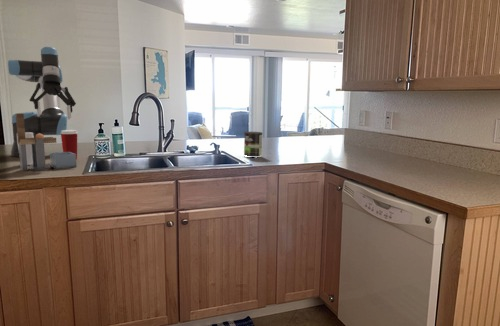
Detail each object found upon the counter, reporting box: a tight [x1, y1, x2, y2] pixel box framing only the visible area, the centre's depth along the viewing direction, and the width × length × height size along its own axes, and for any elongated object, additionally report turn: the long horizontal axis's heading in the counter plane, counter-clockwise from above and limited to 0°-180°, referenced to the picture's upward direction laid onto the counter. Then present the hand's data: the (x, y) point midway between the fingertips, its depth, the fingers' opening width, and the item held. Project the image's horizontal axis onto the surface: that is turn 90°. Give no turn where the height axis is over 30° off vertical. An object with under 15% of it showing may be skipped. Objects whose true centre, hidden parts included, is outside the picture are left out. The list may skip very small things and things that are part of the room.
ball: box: [36, 133, 45, 139], centre depth 165 cm, size 3×3×3 cm
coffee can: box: [243, 131, 263, 156], centre depth 214 cm, size 10×10×14 cm
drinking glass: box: [17, 132, 34, 166], centre depth 175 cm, size 7×7×15 cm
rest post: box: [19, 144, 29, 172], centre depth 162 cm, size 4×2×11 cm, turn 43°
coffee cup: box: [60, 129, 79, 161], centre depth 191 cm, size 8×8×15 cm
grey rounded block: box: [49, 151, 78, 170], centre depth 173 cm, size 9×9×6 cm
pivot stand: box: [28, 139, 51, 172], centre depth 166 cm, size 9×6×14 cm, turn 43°
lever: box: [15, 112, 57, 145], centre depth 164 cm, size 6×14×13 cm, turn 133°
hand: (54, 117), depth 181 cm, fingers open, 13 cm apart
